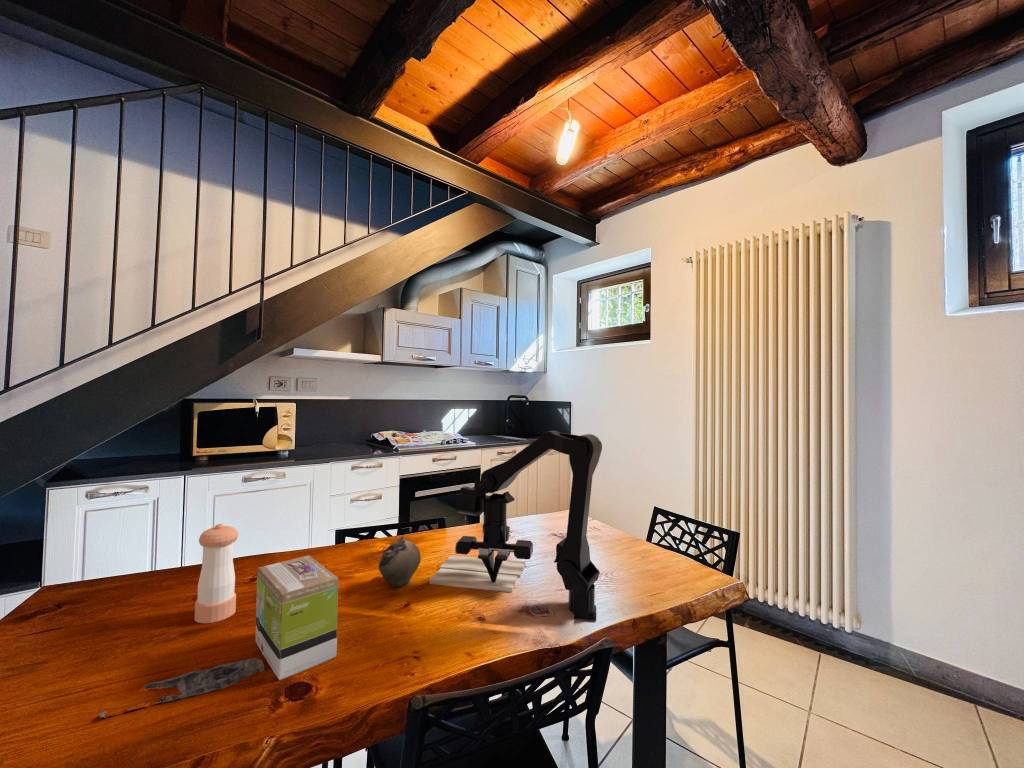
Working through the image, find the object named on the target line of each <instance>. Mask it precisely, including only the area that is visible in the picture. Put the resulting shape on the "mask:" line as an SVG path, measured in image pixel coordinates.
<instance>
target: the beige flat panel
mask: <svg viewBox="0 0 1024 768" xmlns="http://www.w3.org/2000/svg"><path fill="white" fill-rule="evenodd" d="M494 561H495V558H494ZM525 566H526V561H521V560H520V561H519V560H509V559H507V560H506V561H503V562H502V564H501V567H500V570H499V573H498V574H505V575H516V576H518V578H522V577H521V576H522V575H523V571H524V568H525ZM440 568H443V569H453V570H463V571H474V572H484V573H488V571H487V569H486V567H485V565H484V563H483V561H482V560H481V559H478V557H474V556H473V557H472V556H464V555H452V554H451V555H449V556H447V559H446V560H445V561H444V562H443V563H442V564H441V565H440V566H439V569H440Z"/></svg>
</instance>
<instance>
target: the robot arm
mask: <svg viewBox="0 0 1024 768" xmlns="http://www.w3.org/2000/svg"><path fill="white" fill-rule="evenodd" d="M551 451H556V452H559V454H564V455H568V460H569V461H568V462H569V466H570V468H571V469H570V470H571V472H572V479H571V488H570V498H569V499H570V500H569V508H568V517H567V518H568V519H567V529H566V536H565V537H564V538H563V539H562V540H560V541H559V542H558V543H557V544H556V547H555V551H556V553H555V559H554V561H553V562H554V564H555V563H556V571H557V573H559V575H560V577H561V579H562V582H563V585H564V589H565V590H566V591H568V610H569V611H570V612H571V613H572V614H573V619H574V620H581V621H591V622H597V606H596V604H595V602H596V601H595V600H596V599H595V598H596V596H595V594H596V593H595V592H596V585H595V583H596V582H597V581H598V579H599V576H600V573H601V571H599V569H598V568H597V567H596V565H595V564H594V562H592V561H591V554H590V553H591V552H590V551H591V550H590V545H589V541H588V537H587V534H588V524H589V523H588V522H589V516H590V515H589V514H590V513H589V512H590V505H591V494H592V486H593V476H594V473H595V471H596V469H597V466H598V464H599V461H600V457H601V454H602V451H603V444H602V441H601V440H600V439H599V437H598V436H596V435H594V434H592V433H591V434H590V433H588V434H581V435H578V434H572V433H564V432H560V431H557V430H549V431H545V432H543V433H542V434H541V436H539V437H538V438H537V439H535V440H534V441H533V442H531V443H530V444H528V445H526V447H524V448H523V449H521V450H520V451H519V452H518V453H516V454H515V455H513V456H512V457H510V458H508V460H506V461H505V462H502V463H499V464H497V465H494V466H493V467H490V468H488V469H486V470H484V471H483V472H482V473H481V474H480V481H479V482H478V483H477V485H476V486H475V488H474V487H470V486H462V487H460V492H459V493H458V494H457V497H456V500H455V503H454V508H455V510H456V512H457V513H459V514H462V515H469V516H475V517H480V516H481V515H482V514H483V521H482V522H483V523H482V534H483V535H482V541H479V540H478V539H477V537H476V536H472V535H462V536H461V537H460V539H458V541H456V543H455V546H454V547H455V548H454V549H455V550H454V551H455V554H456V555H457V554H459V555H468V554H469V553H470V552H471V550H478V555H477V558H478V559H481V560H482V561H483V563H484V565H485V567H486V569H487V571H488V573H489V576H490V578H491V581H492V583H495V582H496V579H497V576H498V573H499V570H500V567H501V564H502V562H503V561H506V560H509V557H510V555H511V553H513V556H514V557H515V558H516V559H519V560H530V559H531V558H532V555H533V552H534V543H533V542H532V541H531V540H524V539H517V540H516V542H515V543H507V542H509V540H510V531H511V530H510V529H511V527H510V525H509V526H508V525H507V524H508V523H507V505H508V504H509V503H512V502H515V497H514V496H513V495H512V494H511V493H510V492H509V490H508V491H505V492H503V493H498V492H499V491H502V490H505V489H507V488H509V486H510V485H512V484H513V482H514V481H515V480H516V479H517V477H518V476H519V474H520V473H522V471H524V470H525V469H527V468H528V467H530V466H531V465H532V464H534V463H535V462H537V461H538V460H539V459H541V458H542V457H544V456H545V455H546V454H548V453H549V452H551ZM487 494H491V495H487ZM495 552H496V553H497V554H496V555H495ZM494 559H495V561H494Z"/></svg>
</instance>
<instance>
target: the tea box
mask: <svg viewBox="0 0 1024 768" xmlns="http://www.w3.org/2000/svg"><path fill="white" fill-rule="evenodd" d="M338 604H339V577H338V576H337V575H335V574H333V573H332V572H331V571H330V570H328V569H327V568H326V567H325V566H323V564H321V563H320V562H318V561H317V560H316V559H315V558H313V557H312V556H311V555H309V554H307V555H304V556H299V557H295V558H291V559H288V560H283V561H279V562H276V563H271V564H268V565H264V566H263V565H262V566H258V567H257V572H256V607H255V608H256V610H255V643H256V644H257V647H258V649H259V650H260V651H261V654H262V655H263V657H264V658H265V660H266V662H267V663H268V665H269V667H270V668H271V669H272V671H273V673H274V675H275V676H276V678H277V679H278V681H282V680H284V679H286V678H289V677H291V676H294V675H296V674H298V673H301V672H304V671H307V670H308V669H311V668H314V667H316V666H318V665H320V664H323V663H326V662H328V661H330V660H332V659H335V658H336V657H337V647H338V610H339V609H338V607H339V606H338Z"/></svg>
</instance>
